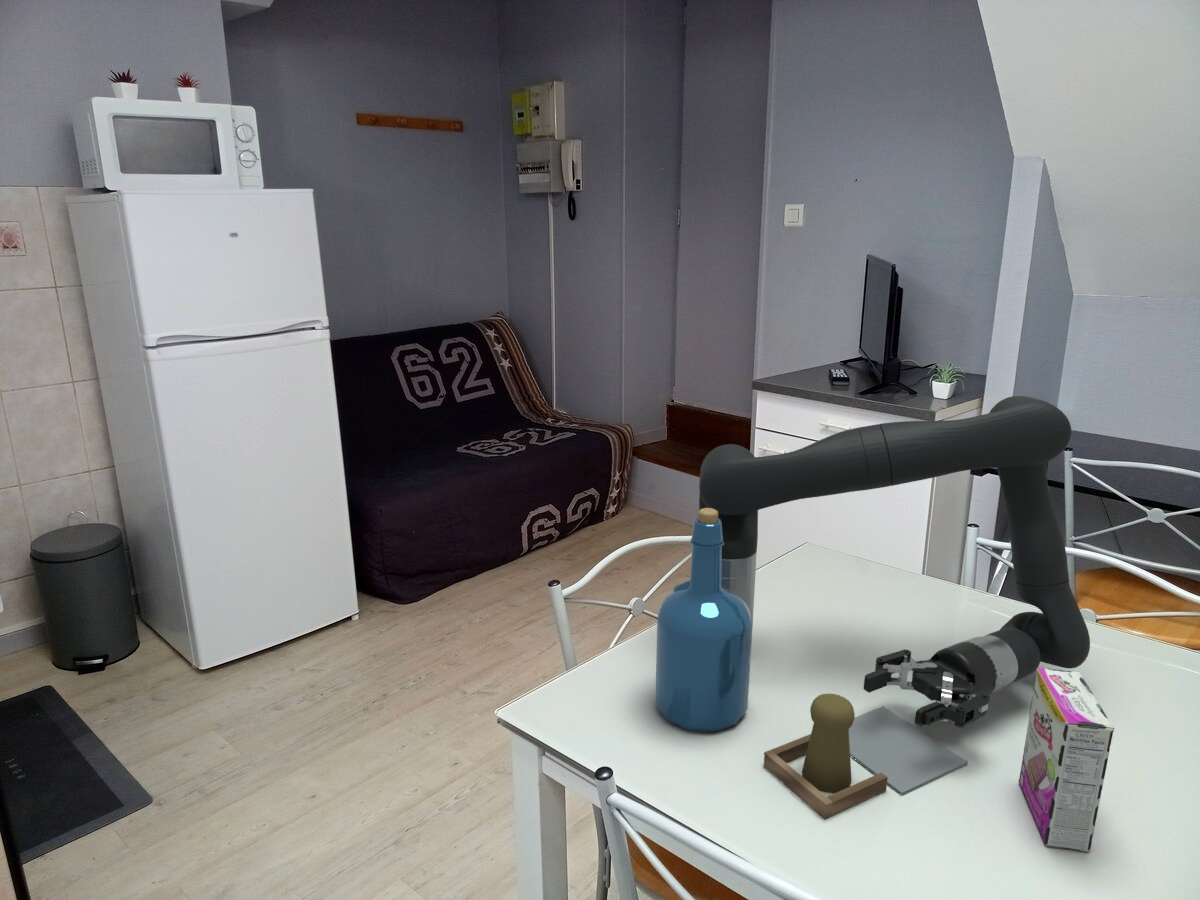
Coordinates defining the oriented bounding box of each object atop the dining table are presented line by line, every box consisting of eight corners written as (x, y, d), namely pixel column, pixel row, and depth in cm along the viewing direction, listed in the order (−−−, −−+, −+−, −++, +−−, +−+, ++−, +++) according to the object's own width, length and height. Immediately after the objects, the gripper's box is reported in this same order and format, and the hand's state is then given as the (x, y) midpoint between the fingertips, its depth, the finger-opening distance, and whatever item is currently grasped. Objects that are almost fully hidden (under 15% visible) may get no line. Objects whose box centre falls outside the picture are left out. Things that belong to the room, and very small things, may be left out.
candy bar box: (1014, 782, 102) (1034, 665, 98) (1058, 787, 101) (1080, 670, 97) (1042, 848, 92) (1066, 721, 87) (1091, 855, 91) (1118, 727, 86)
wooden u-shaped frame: (763, 765, 105) (764, 752, 105) (822, 741, 110) (823, 728, 109) (824, 819, 96) (826, 805, 96) (886, 791, 101) (887, 777, 100)
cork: (812, 755, 107) (819, 681, 104) (858, 773, 104) (866, 697, 101) (794, 780, 103) (800, 703, 99) (841, 800, 99) (849, 721, 96)
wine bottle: (761, 731, 112) (774, 525, 104) (666, 741, 110) (671, 532, 102) (729, 676, 125) (739, 490, 117) (644, 684, 123) (647, 495, 115)
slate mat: (819, 733, 112) (820, 731, 112) (883, 708, 117) (883, 705, 117) (901, 795, 100) (901, 792, 100) (967, 764, 106) (968, 761, 105)
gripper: (934, 621, 118) (852, 650, 111) (1025, 668, 106) (940, 704, 99) (928, 668, 121) (847, 698, 113) (1017, 718, 109) (933, 757, 101)
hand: (890, 701), depth 106 cm, fingers open, 8 cm apart
